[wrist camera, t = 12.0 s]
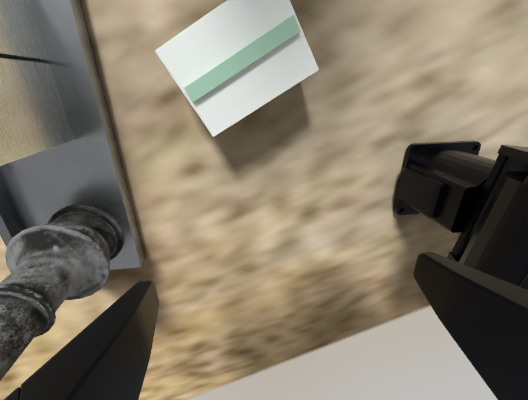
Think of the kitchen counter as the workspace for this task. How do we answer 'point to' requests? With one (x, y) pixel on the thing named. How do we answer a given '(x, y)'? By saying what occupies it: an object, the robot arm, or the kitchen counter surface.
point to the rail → (85, 155)
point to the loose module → (238, 59)
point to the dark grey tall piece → (53, 273)
